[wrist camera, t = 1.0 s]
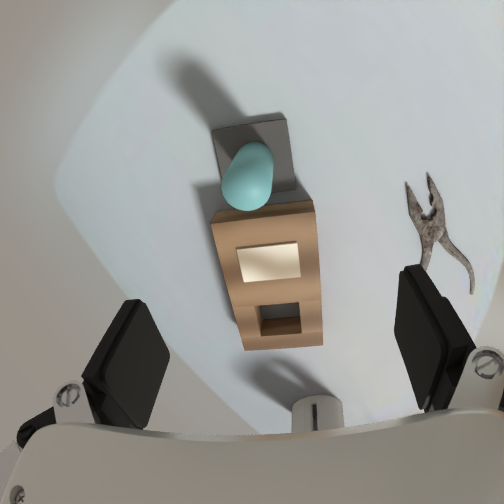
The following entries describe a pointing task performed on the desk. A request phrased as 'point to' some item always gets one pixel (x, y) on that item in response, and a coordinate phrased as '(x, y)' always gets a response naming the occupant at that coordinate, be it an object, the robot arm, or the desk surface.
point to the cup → (326, 414)
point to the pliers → (435, 230)
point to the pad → (267, 134)
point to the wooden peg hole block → (272, 272)
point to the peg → (249, 177)
